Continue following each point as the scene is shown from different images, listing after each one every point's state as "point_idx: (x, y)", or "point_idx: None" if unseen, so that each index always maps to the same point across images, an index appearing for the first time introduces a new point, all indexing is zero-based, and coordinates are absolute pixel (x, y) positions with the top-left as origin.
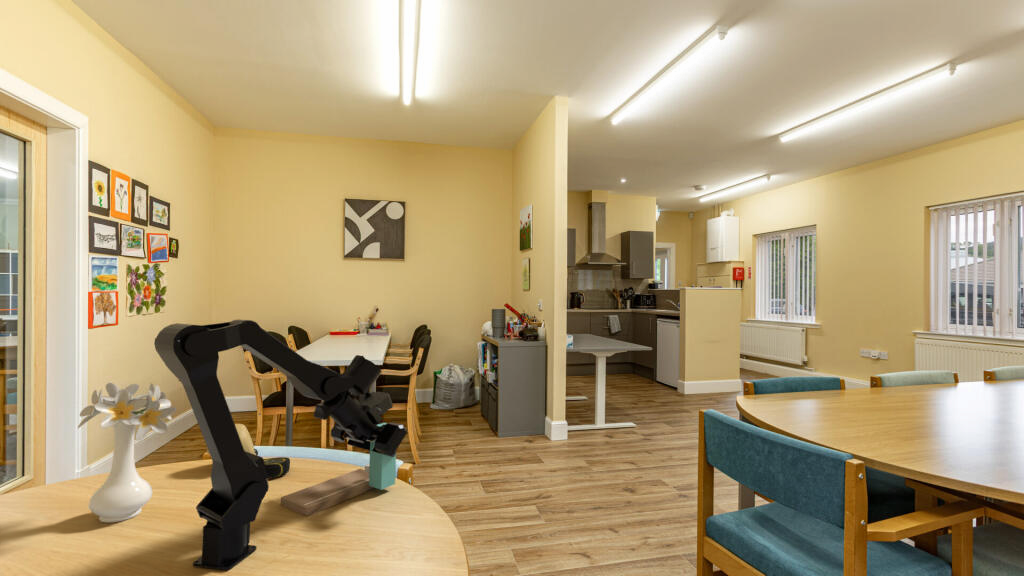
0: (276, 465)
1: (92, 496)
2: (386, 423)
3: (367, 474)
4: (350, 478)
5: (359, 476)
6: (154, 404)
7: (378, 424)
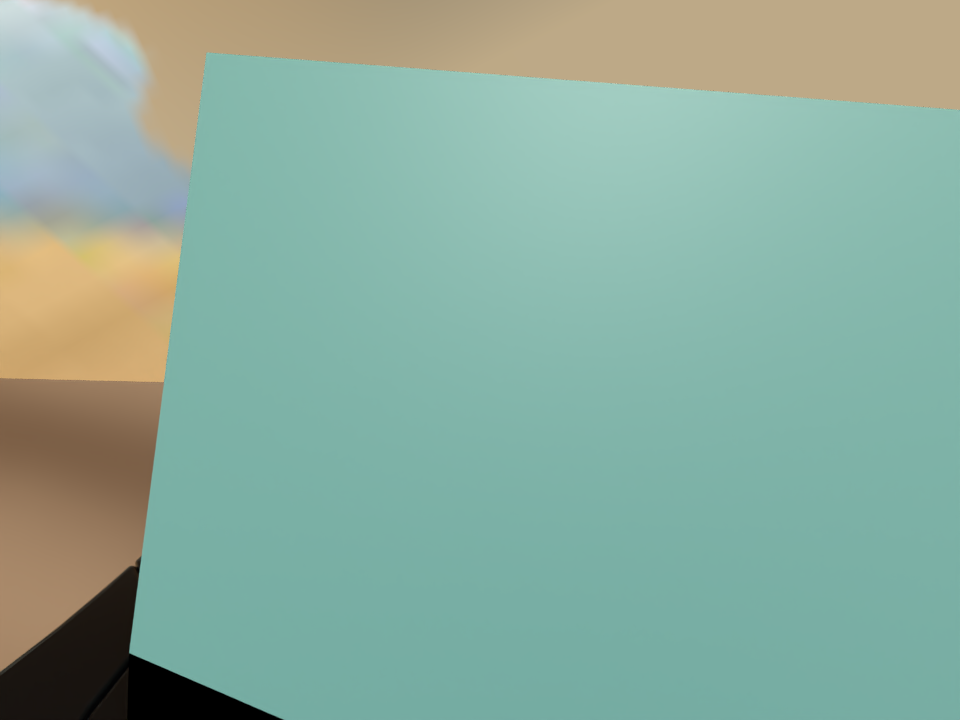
0: None
1: None
2: (430, 117)
3: (141, 447)
4: None
5: (104, 535)
6: None
7: (184, 553)
